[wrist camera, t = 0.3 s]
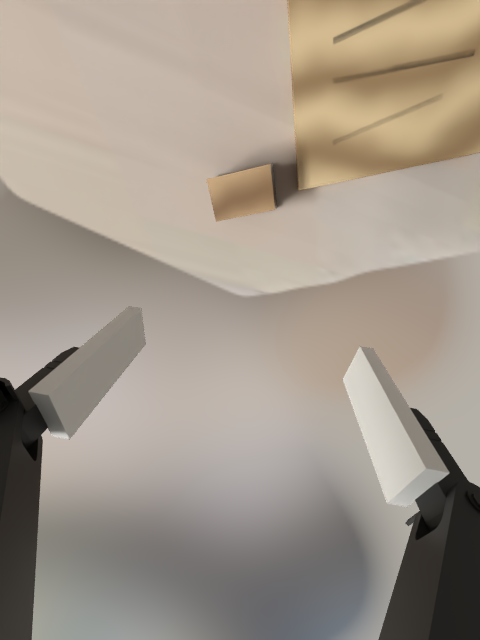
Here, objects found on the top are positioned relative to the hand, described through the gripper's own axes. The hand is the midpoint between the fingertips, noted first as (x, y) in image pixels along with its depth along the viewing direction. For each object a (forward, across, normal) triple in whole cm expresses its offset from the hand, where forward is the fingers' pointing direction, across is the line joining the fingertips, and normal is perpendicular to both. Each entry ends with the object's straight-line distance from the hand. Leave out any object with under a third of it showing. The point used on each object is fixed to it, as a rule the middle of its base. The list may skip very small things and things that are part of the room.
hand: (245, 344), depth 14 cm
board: (+25, +10, +20) cm, 34 cm away
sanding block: (+25, -4, +7) cm, 26 cm away
